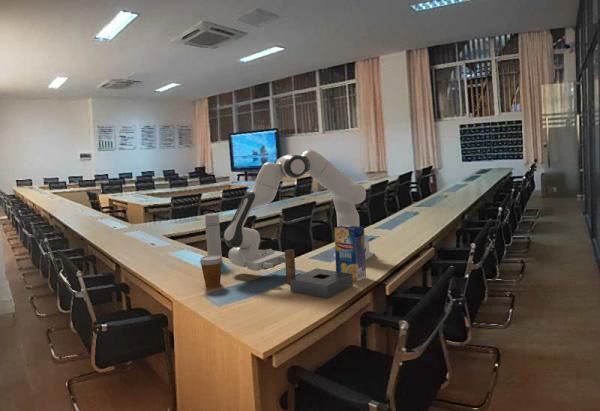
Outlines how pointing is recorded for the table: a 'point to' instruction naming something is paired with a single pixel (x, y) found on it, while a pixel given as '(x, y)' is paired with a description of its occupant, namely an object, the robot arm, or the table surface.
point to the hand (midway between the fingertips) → (280, 263)
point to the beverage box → (350, 251)
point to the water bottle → (213, 234)
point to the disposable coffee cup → (211, 270)
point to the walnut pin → (289, 265)
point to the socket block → (321, 283)
